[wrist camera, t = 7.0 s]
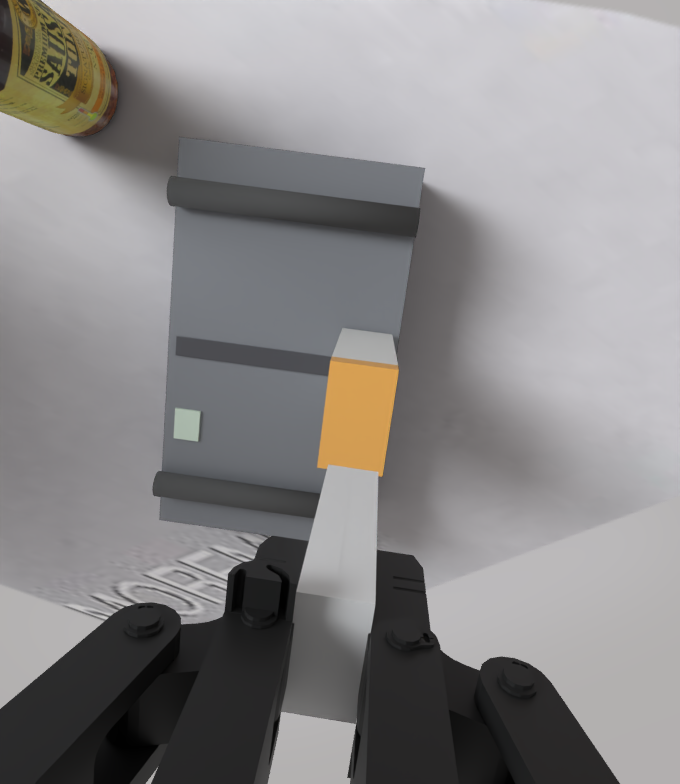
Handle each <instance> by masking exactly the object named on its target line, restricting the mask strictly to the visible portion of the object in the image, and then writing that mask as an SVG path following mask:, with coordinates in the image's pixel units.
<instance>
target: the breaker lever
mask: <svg viewBox="0 0 680 784" xmlns="http://www.w3.org/2000/svg"><path fill="white" fill-rule="evenodd" d="M398 373H399V368H398V362H397V357H396V352H395V346H394V341H393V336H392V334H385V333H377V332H370V331H362V330H355V329H347V328H342V330H341V333H340V336H339V339H338V341H337V344H336V347H335V349H334V352H333V355H332V357H331V360H330V367H329V375H328V383H327V391H326V399H325V407H324V415H323V423H322V431H321V440H320V448H319V456H318V464H317V468H323V469H327V467H328V465H335V466H342V467H348V468H355V469H362V470H368V471H375V472H378V476H381V477H382V476H383V470H384V463H385V457H386V450H387V444H388V438H389V431H390V425H391V418H392V412H393V405H394V399H395V392H396V386H397V380H398Z"/></svg>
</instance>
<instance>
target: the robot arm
mask: <svg viewBox="0 0 680 784" xmlns="http://www.w3.org/2000/svg"><path fill="white" fill-rule="evenodd" d="M377 512H378V472H375V471H368V470H362V469H355V468H348V467H342V466H335V465H328V467H327V471H326V475H325V479H324V483H323V487H322V491H321V495H320V499H319V503H318V507H317V511H316V515H315V519H314V523H313V527H312V531H311V535H310V539H309V541H305V540H299V539H292V538H286V537H279V536H271V537H270V538H268V539H267V540H266V541H264V542H263V543H262V544H260V546H259V549H258V551H257V553H256V556H255V559H254V561H249V562H243V563H241V564H239V565H237V566H235V567H234V568H233V569H232V570H231V571H230V572H229V573H228V582H227V593H226V604H225V612H224V614H223V617H221V618H219V619H216V620H213V621H210V622H205V623H198V624H183V625H181V618H180V616H179V615H178V614H177V612H176V611H175V610H174V609H172V608H170V607H168V606H166V605H163V604H157V603H138V604H134V605H131V606H127V607H124V608H123V609H121V610H119V611H118V612H116V613H114V614H113V615H112V616H110V617H109V618H108V619H107V620H106V621H105V622H103V623H102V624H101V625H100V626H99V627H97V628H96V629H95V630H94V631H93V632H92V633H90V634H89V635H88V636H87V637H86V638H85V639H83V640H82V641H81V642H80V643H78V644H77V645H76V646H75V647H74V648H72V649H71V650H70V651H69V652H68V653H66V654H65V655H64V656H63V657H62V658H60V659H59V660H58V661H57V662H56V663H55V664H53V665H52V666H51V667H50V668H49V669H47V670H46V671H45V672H44V673H43V674H42V675H40V676H39V677H38V678H37V679H35V680H34V681H33V682H32V683H31V684H30V685H28V686H27V687H26V688H25V689H24V690H22V691H21V692H20V693H19V694H18V695H17V696H15V697H14V698H13V699H12V700H10V701H9V702H8V703H7V704H6V705H5V706H3V707H2V708H1V709H0V784H146V782H147V781H148V779H149V778H150V777H151V775H152V774H153V773H154V771H155V770H156V768H157V767H158V766H159V767H158V769H157V771H156V774H155V776H154V778H153V781H152V783H151V784H267V783H268V778H269V774H270V769H271V765H272V760H273V755H274V750H275V746H276V741H277V736H278V730H279V722H280V714H281V712H288V713H294V714H300V715H306V716H312V717H318V718H324V719H330V720H336V721H342V722H349V723H354V724H356V729H355V735H354V741H353V747H352V753H351V759H350V765H349V772H348V777H347V778H351V781H350V784H620V783H619V782H618V781H617V779H616V777H615V776H614V774H613V773H612V772H611V770H610V768H609V767H608V766H607V764H606V763H605V761H604V760H603V758H602V757H601V755H600V754H599V752H598V751H597V749H596V748H595V746H594V745H593V744H592V742H591V741H590V739H589V738H588V736H587V735H586V733H585V732H584V730H583V729H582V727H581V726H580V724H579V723H578V721H577V720H576V718H575V717H574V716H573V714H572V713H571V711H570V710H569V708H568V707H567V705H566V704H565V702H564V701H563V699H562V698H561V696H560V695H559V694H558V692H557V691H556V689H555V688H554V686H553V685H552V683H551V682H550V681H549V680H548V679H547V678H546V677H545V675H544V674H543V673H542V672H541V671H539V670H538V669H536V668H534V667H533V666H531V665H530V664H528V663H526V662H523V661H520V660H518V659H515V658H508V657H496V658H490V659H489V660H487V661H486V662H484V663H483V664H482V666H481V669H480V671H479V670H477V669H474V668H471V667H469V666H466V665H464V664H462V663H460V662H458V661H455V660H453V659H452V658H450V657H449V656H447V655H446V654H445V653H443V652H442V651H441V650H440V644H439V642H438V639H437V637H436V636H435V634H434V633H433V632H432V631H431V630H430V622H429V614H428V607H427V598H426V594H425V593H426V589H425V583H424V573H423V568H422V566H421V565H420V564H419V562H418V561H417V560H416V559H415V557H414V556H413V555H406V554H400V553H393V552H387V551H380V550H377ZM356 718H357V723H356Z"/></svg>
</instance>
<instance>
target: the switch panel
mask: <svg viewBox="0 0 680 784" xmlns="http://www.w3.org/2000/svg"><path fill="white" fill-rule="evenodd" d="M424 171H425V168H421V167H413V166H405V165H397V164H390V163H382V162H374V161H366V160H358V159H350V158H342V157H334V156H326V155H319V154H311V153H303V152H295V151H287V150H279V149H271V148H263V147H256V146H248V145H240V144H232V143H224V142H216V141H208V140H200V139H192V138H185V137H179V152H178V171H177V177H183V178H190V179H198V180H206V181H214V182H222V183H229V184H237V185H245V186H253V187H260V188H268V189H276V190H284V191H292V192H299V193H307V194H315V195H323V196H331V197H338V198H346V199H354V200H362V201H369V202H377V203H385V204H393V205H401V206H408V207H416V208H419V204H420V197H421V191H422V184H423V178H424ZM413 243H414V237H408V236H400V235H393V234H385V233H377V232H369V231H362V230H354V229H346V228H339V227H331V226H323V225H315V224H308V223H300V222H292V221H285V220H277V219H269V218H262V217H254V216H246V215H238V214H231V213H223V212H215V211H208V210H200V209H192V208H184V207H177V206H176V210H175V229H174V249H173V268H172V287H171V307H170V326H169V345H168V365H167V384H166V403H165V423H164V442H163V461H162V471H163V472H170V473H177V474H184V475H191V476H198V477H205V478H212V479H219V480H226V481H234V482H241V483H248V484H255V485H262V486H269V487H276V488H283V489H290V490H298V491H305V492H312V493H319V494H321V491H322V487H323V483H324V479H325V475H326V471H327V469H323V468H317V464H318V456H319V448H320V440H321V431H322V423H323V415H324V407H325V399H326V391H327V383H328V375H329V367H330V360H331V357H332V355H333V352H334V349H335V347H336V344H337V341H338V339H339V336H340V333H341V330H342V328H347V329H355V330H362V331H370V332H377V333H385V334H392V336H393V341H394V346H395V352H396V354H397V348H398V341H399V335H400V328H401V322H402V315H403V309H404V302H405V296H406V289H407V282H408V276H409V269H410V263H411V256H412V250H413ZM159 520H164V521H171V522H178V523H185V524H192V525H199V526H206V527H213V528H220V529H227V530H234V531H241V532H248V533H255V534H262V535H269V536H279V537H286V538H292V539H299V540H305V541H309V539H310V535H311V531H312V527H313V523H314V518H307V517H300V516H293V515H286V514H278V513H271V512H264V511H257V510H250V509H243V508H236V507H229V506H222V505H215V504H208V503H201V502H194V501H187V500H180V499H173V498H166V497H161V500H160V519H159Z"/></svg>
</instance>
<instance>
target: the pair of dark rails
mask: <svg viewBox="0 0 680 784" xmlns="http://www.w3.org/2000/svg"><path fill="white" fill-rule="evenodd" d="M167 199H168V203H169V205H170V206H177V207H184V208H192V209H200V210H208V211H215V212H223V213H231V214H238V215H246V216H254V217H262V218H269V219H277V220H285V221H292V222H300V223H308V224H315V225H323V226H331V227H339V228H346V229H354V230H362V231H369V232H377V233H385V234H393V235H400V236H408V237H416V234H417V229H418V223H419V216H420V208H416V207H408V206H401V205H393V204H385V203H377V202H369V201H362V200H354V199H346V198H338V197H331V196H323V195H315V194H307V193H299V192H292V191H284V190H276V189H268V188H260V187H253V186H245V185H237V184H229V183H222V182H214V181H206V180H198V179H190V178H183V177H175V176H171V177H170V178H169V181H168V185H167ZM153 495H154V496H158V497H166V498H173V499H180V500H187V501H194V502H201V503H208V504H215V505H222V506H229V507H236V508H243V509H250V510H257V511H264V512H271V513H278V514H286V515H293V516H300V517H307V518H314V519H315V515H316V511H317V507H318V503H319V499H320V495H321V494H319V493H312V492H305V491H298V490H290V489H283V488H276V487H269V486H262V485H255V484H248V483H241V482H234V481H226V480H219V479H212V478H205V477H198V476H191V475H184V474H177V473H170V472H163V471H158V472H157V474H156V476H155V479H154V483H153Z"/></svg>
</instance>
